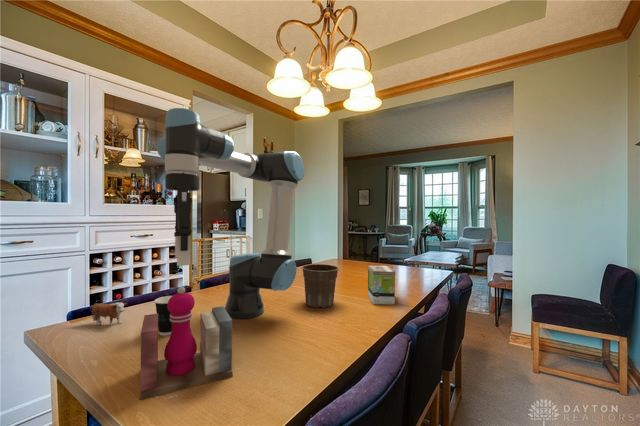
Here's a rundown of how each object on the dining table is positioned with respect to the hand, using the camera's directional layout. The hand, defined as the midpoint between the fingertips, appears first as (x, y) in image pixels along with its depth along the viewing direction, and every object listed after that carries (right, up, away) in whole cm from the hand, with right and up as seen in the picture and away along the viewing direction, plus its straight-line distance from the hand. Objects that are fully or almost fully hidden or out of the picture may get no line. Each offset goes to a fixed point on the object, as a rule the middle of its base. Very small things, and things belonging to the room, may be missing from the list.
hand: (182, 260), depth 71 cm
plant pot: (+34, -28, +56) cm, 71 cm away
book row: (+1, -28, +1) cm, 28 cm away
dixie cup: (-16, -28, +24) cm, 40 cm away
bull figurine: (-40, -28, +31) cm, 57 cm away
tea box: (+62, -29, +63) cm, 93 cm away
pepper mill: (0, -27, 0) cm, 27 cm away
